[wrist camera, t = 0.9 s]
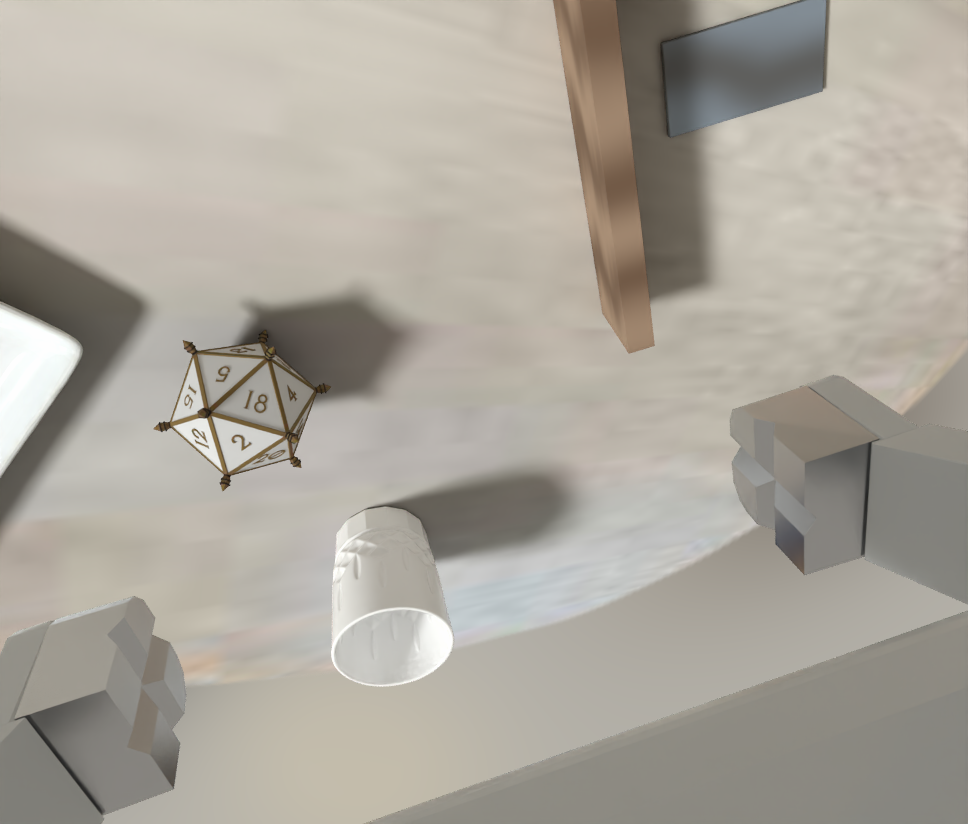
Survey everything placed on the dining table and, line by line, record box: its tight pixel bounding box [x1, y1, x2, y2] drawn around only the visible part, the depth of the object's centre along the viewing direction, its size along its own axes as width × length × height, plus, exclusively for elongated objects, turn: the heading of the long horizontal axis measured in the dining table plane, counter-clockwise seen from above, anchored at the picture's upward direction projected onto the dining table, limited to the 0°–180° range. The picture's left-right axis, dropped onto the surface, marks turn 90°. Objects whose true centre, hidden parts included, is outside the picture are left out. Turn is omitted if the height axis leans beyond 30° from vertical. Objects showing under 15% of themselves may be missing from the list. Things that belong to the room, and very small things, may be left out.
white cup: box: [331, 506, 454, 686], centre depth 54 cm, size 8×8×10 cm
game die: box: [154, 330, 331, 491], centre depth 44 cm, size 9×8×10 cm
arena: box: [553, 0, 826, 353], centre depth 41 cm, size 22×22×5 cm
